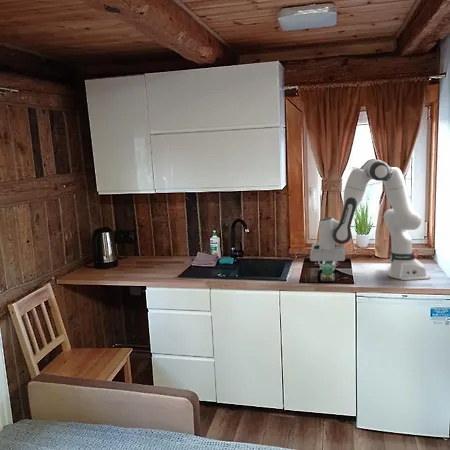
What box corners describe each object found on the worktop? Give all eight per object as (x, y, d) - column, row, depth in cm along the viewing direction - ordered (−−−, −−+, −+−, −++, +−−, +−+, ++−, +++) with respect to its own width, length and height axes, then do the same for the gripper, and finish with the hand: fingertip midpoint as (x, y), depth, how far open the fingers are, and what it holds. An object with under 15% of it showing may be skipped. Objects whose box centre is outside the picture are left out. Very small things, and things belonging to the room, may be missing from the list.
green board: (332, 267, 279) (332, 263, 278) (333, 274, 265) (333, 269, 265) (322, 267, 280) (322, 263, 280) (322, 274, 267) (322, 269, 266)
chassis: (334, 274, 279) (334, 266, 278) (334, 281, 266) (334, 272, 265) (320, 274, 281) (320, 266, 280) (320, 281, 268) (320, 272, 267)
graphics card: (337, 258, 306) (333, 268, 283) (337, 263, 307) (333, 273, 283) (321, 258, 309) (316, 268, 286) (321, 263, 310) (316, 273, 287)
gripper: (345, 243, 271) (345, 266, 273) (309, 244, 275) (310, 266, 278) (345, 246, 265) (346, 269, 267) (309, 246, 269) (310, 269, 272)
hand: (327, 268), depth 272 cm, fingers closed on green board, 6 cm apart
